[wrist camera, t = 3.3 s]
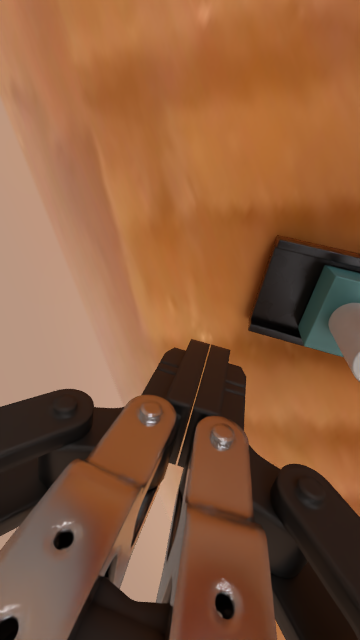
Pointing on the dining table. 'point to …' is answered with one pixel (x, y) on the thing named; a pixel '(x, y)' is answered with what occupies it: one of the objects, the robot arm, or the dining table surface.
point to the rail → (293, 285)
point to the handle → (334, 316)
